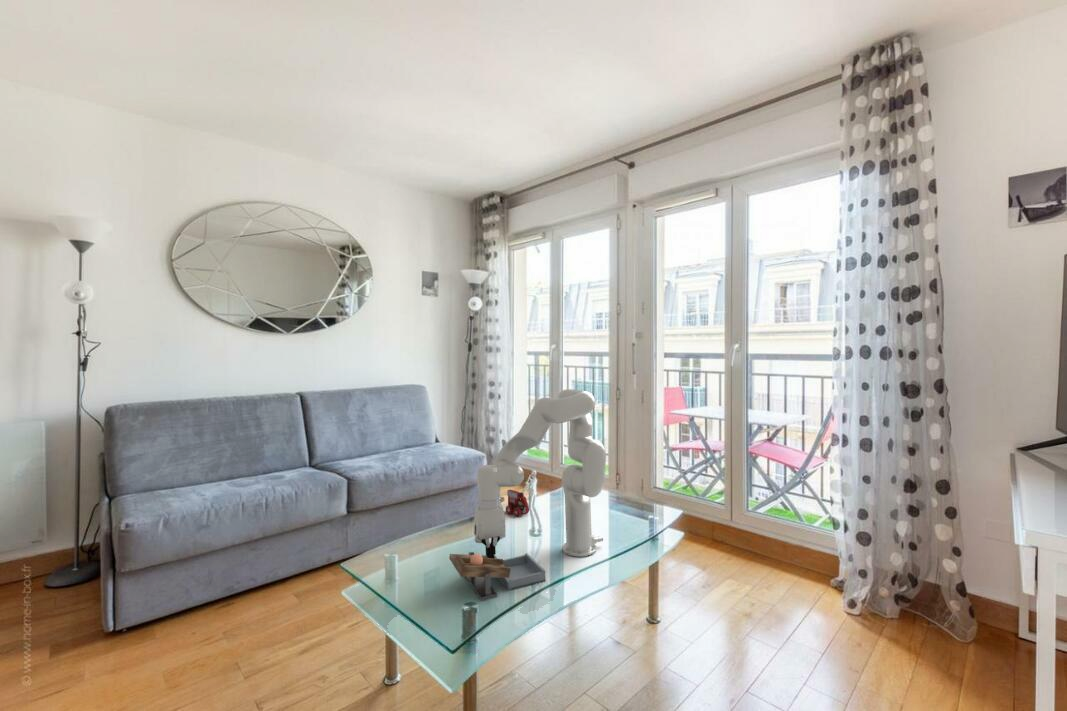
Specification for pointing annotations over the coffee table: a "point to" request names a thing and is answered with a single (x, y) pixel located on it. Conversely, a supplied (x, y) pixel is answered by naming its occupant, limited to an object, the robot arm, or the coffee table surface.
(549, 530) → the coffee table surface
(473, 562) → the ball
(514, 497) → the red toy vehicle
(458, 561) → the lever
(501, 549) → the coffee table surface
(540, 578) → the tray
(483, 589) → the lever stand
